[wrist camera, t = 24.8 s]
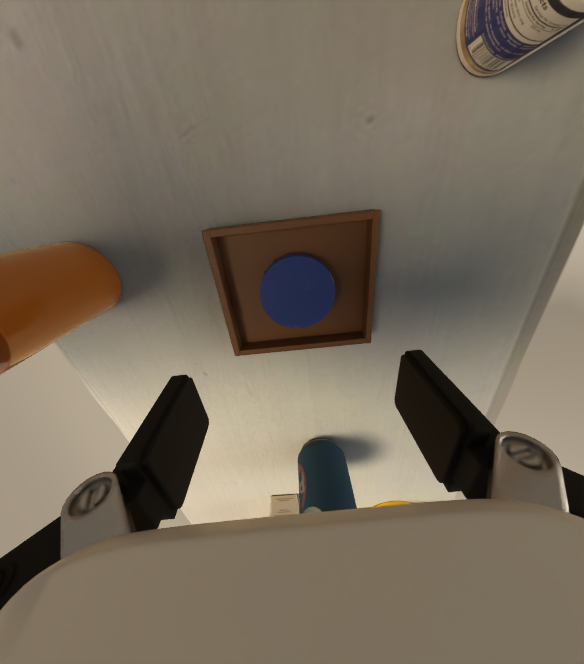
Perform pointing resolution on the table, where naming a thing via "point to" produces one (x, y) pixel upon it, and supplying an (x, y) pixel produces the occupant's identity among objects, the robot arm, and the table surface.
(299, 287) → the jar lid
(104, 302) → the jar
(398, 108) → the table surface
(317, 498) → the soda can
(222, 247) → the tray
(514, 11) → the pill bottle
